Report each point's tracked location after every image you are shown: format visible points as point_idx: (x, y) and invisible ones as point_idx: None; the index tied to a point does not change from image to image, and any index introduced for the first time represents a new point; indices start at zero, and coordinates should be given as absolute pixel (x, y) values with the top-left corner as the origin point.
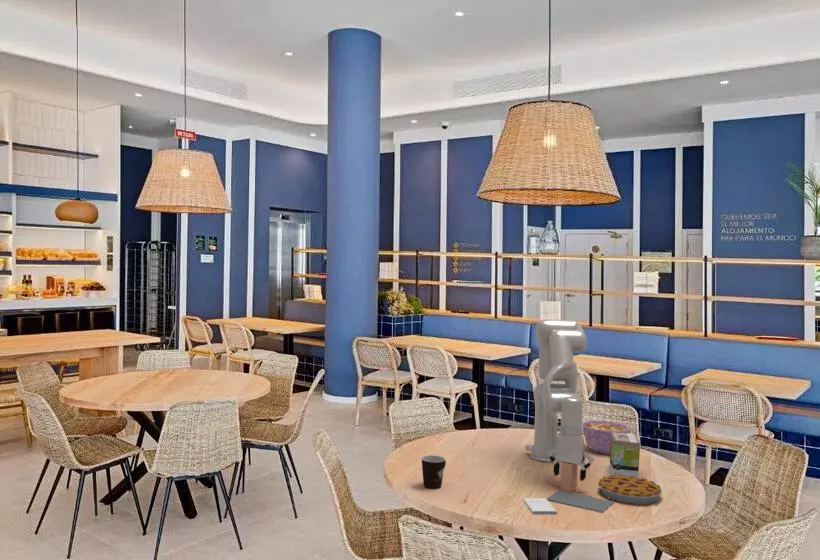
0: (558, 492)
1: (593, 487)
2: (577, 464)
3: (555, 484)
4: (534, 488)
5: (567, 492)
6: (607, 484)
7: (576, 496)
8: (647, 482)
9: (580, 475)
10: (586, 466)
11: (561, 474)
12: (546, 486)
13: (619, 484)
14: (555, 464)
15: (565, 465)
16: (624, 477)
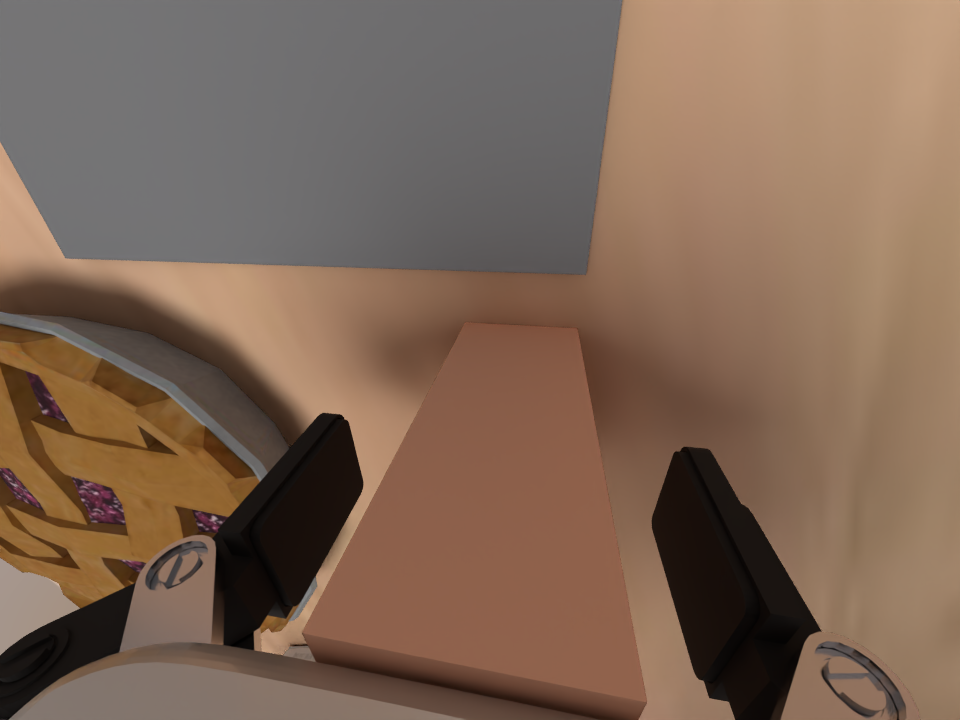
0: (561, 168)
1: None
2: (172, 642)
3: (658, 434)
4: (935, 160)
5: (470, 243)
6: (145, 454)
7: (339, 171)
8: (40, 574)
9: (303, 460)
10: (108, 621)
11: (590, 430)
12: (748, 336)
13: (113, 497)
14: (789, 646)
15: (511, 591)
16: None
